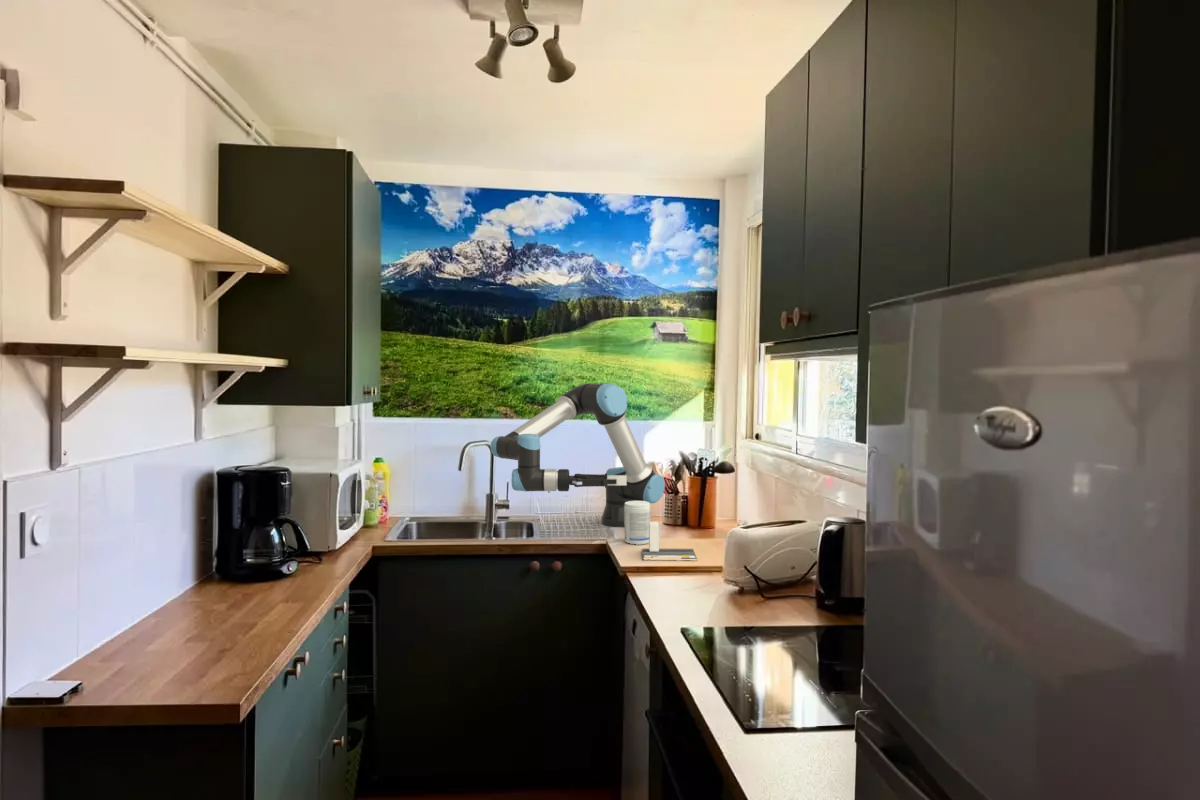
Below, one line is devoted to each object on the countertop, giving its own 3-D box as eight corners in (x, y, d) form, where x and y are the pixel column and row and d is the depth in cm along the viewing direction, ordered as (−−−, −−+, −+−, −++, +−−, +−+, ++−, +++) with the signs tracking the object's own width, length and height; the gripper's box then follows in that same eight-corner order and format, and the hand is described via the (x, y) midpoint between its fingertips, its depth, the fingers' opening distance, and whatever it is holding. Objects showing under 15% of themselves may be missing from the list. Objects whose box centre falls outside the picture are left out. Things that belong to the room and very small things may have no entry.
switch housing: (641, 551, 255) (641, 546, 255) (692, 551, 255) (693, 546, 255) (643, 560, 243) (643, 555, 243) (697, 560, 243) (697, 555, 243)
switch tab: (649, 551, 252) (649, 521, 251) (657, 551, 252) (658, 521, 251) (649, 554, 247) (650, 524, 246) (658, 555, 247) (659, 524, 246)
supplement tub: (655, 542, 268) (655, 502, 267) (638, 546, 262) (638, 506, 261) (636, 537, 275) (636, 499, 274) (618, 542, 269) (618, 502, 268)
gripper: (559, 487, 257) (625, 487, 256) (555, 495, 241) (626, 495, 240) (559, 465, 256) (625, 466, 256) (555, 472, 240) (626, 473, 240)
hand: (626, 480), depth 248 cm, fingers open, 3 cm apart
